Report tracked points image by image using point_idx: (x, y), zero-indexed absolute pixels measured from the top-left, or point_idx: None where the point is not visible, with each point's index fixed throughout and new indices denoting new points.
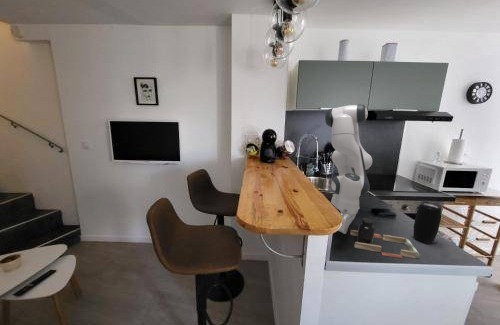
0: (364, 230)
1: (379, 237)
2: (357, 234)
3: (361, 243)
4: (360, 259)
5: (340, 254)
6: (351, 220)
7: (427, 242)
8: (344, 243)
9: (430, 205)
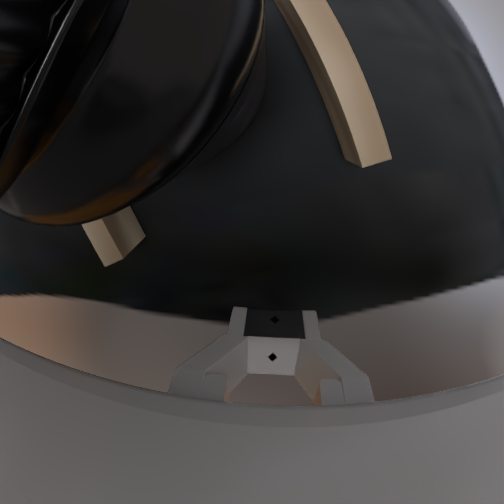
0: (263, 21)
1: None
2: None
3: (355, 89)
4: (488, 104)
5: (493, 241)
6: (136, 441)
7: None
8: (348, 249)
9: None
